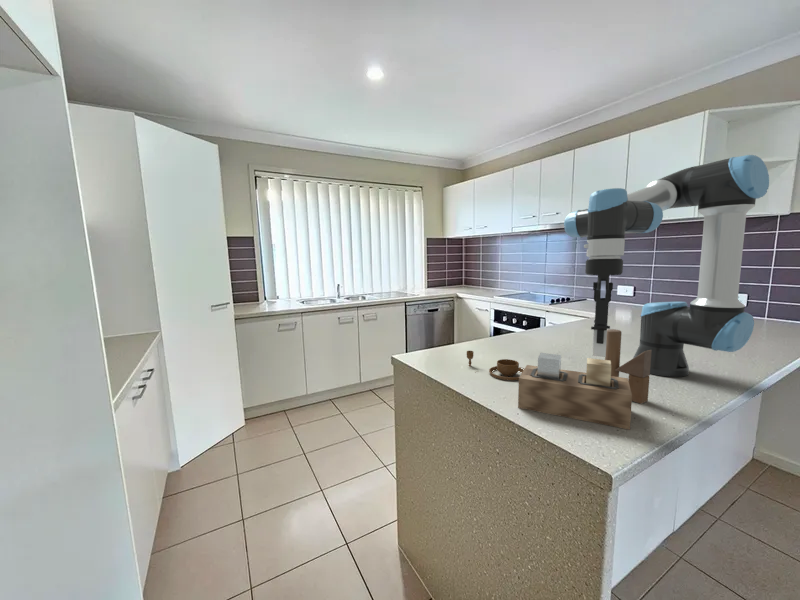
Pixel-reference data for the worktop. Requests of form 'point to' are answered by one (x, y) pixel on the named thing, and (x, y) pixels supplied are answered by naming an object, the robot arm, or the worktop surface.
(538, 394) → the walnut block
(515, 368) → the place setting
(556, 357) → the grey metal peg
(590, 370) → the maple peg
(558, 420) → the worktop surface
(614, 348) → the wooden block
